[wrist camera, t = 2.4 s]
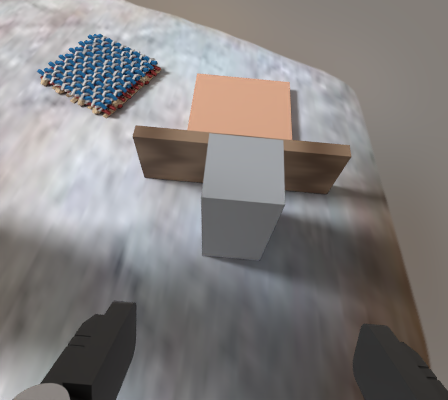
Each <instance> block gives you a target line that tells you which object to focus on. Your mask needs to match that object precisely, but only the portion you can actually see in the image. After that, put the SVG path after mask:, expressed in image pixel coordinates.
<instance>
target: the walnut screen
mask: <svg viewBox="0 0 448 400" xmlns="http://www.w3.org/2000/svg"><path fill="white" fill-rule="evenodd" d="M209 133H211V132H200V131H190V130H179V129H168V128H157V127H147V126H135V130H134V133H133V139H134V143H135V146H136V150H137V153H138V157H139V160H140V163H141V167H142V170H143V174H144V177H145V178H156V179H167V180H178V181H189V182H199V183H203V179H204V172H205V164H206V156H207V148H208V140H209ZM212 134H222V133H212ZM223 135H233V134H223ZM233 136H244V135H233ZM244 137H254V136H244ZM255 138H265V137H255ZM265 139H276V138H265ZM276 140H283V146H284V184H285V190H287V191H298V192H309V193H320V194H327V193H328V192H329V190H330V189H331V187H332V185H333V184H334V182H335V181H336V179H337V178H338V176H339V175H340V173H341V172H342V170H343V169H344V167H345V166H346V164H347V162H348V161H349V159H350V158H351V152H350V145H340V144H330V143H319V142H308V141H297V140H287V139H276Z"/></svg>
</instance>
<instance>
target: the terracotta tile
mask: <svg viewBox="0 0 448 400" xmlns="http://www.w3.org/2000/svg"><path fill="white" fill-rule="evenodd" d="M187 130H190V131H200V132H211V133H222V134H233V135H244V136H254V137H265V138H276V139H287V140H292V127H291V104H290V82H281V81H270V80H260V79H249V78H239V77H228V76H218V75H207V74H197V78H196V84H195V89H194V95H193V101H192V106H191V112H190V118H189V124H188V129H187Z"/></svg>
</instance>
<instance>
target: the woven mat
mask: <svg viewBox="0 0 448 400" xmlns="http://www.w3.org/2000/svg"><path fill="white" fill-rule="evenodd" d="M88 38H89V39H91V41H87V40H86V41H84V43H83V42H82V41H80V42H78V43H79V45H82V47H80V48H78V47H75V50H76V51H75V50H74V49H73V48H70V49H69V51H70V52H72V53H73V54H65V57H66V58H65V57H64V56H63V55H59V58H60V59H62V60H63V61H55V64H56V65H55V64H54V63H53V62H49V63H48V64H49V65H50V66H52V67H51V68H50V69H48V68H45V69H44V71H45V73H44V72H43V71H42V70H40V69H39V70H38V71H37V72H38V73H40V74H41V75H42V76H41V79H42V80H41V84H42V85H45V86H47V85H48V84H49V85H51V84H52V85H54V86H53V87H52V89H54V90H55V89H56V91H55V92H57V93H59V94H61V93H64V92H67V95H66V96H67V97H71V96H74V98H73V99H72V100H70V101H71V102H73V103H76V102H77V101H78V105H80V106H83V105H84V104H85V105H89V106H88V107H87V108H89V109H92V108H93V107H94V108H93V111H92V112H93V113H95V114H99V113H101V112H104V113H105V114H104V115H103V117H105V118H107V117H109V116H110V115H111V114H112V113H114V112H115V111H116V109H117V108H121V107H123V106H122V105H123V104H124V103H125V102H126V101H127V100H128V99H130V98H131V97H132V96H133V95H134V94H135V93H136V92H137V91H138V90H139V89H141V88H142V87H143V86H144V84H145V85H146V84H148V83H149V81H150V80H151V79H152V78H153V77H154V76H156V75H157V74H158V73H159V72H160V71H161V70H162V69H161V68H160V67H158V66H157V64H158V63H157V61H154V60H155V59H154V58H151V59H150V57H147V56H145V54H144V55H142V54H139V53H140V51H138V52H137V51H136V52H134V51H135V50H131V48H129V47H127V48H124V47H126V46H125V45H122V44H120V43H117V42H116V41H112V40H111V39H110V38H108V39H105V38H107V37H106V36H103V35H101V34H99V35H96V34H94V36H92V35H89V36H88ZM109 43H110V44H109ZM115 43H116V44H115ZM89 44H91V45H89ZM74 54H75V55H74ZM144 56H145V57H144ZM117 69H118V70H117ZM152 69H153V70H152ZM154 70H155V71H154ZM147 72H148V73H147ZM149 73H150V74H149ZM135 84H137V85H135ZM130 87H133V89H131V88H130ZM120 95H123V96H124V97H121V96H120ZM107 107H108V108H109V110H107Z"/></svg>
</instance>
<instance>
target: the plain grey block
mask: <svg viewBox="0 0 448 400" xmlns="http://www.w3.org/2000/svg"><path fill="white" fill-rule="evenodd" d="M284 206H285V184H284V146H283V140H276V139H265V138H255V137H244V136H233V135H223V134H212V133H209V140H208V148H207V156H206V164H205V172H204V179H203V187H202V195H201V213H202V255H203V256H214V257H225V258H236V259H248V260H259V261H260V259H261V256H262V254H263V252H264V250H265V248H266V245H267V243H268V241H269V239H270V237H271V234H272V232H273V230H274V228H275V226H276V223H277V221H278V219H279V217H280V215H281V213H282V210H283V208H284Z"/></svg>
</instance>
